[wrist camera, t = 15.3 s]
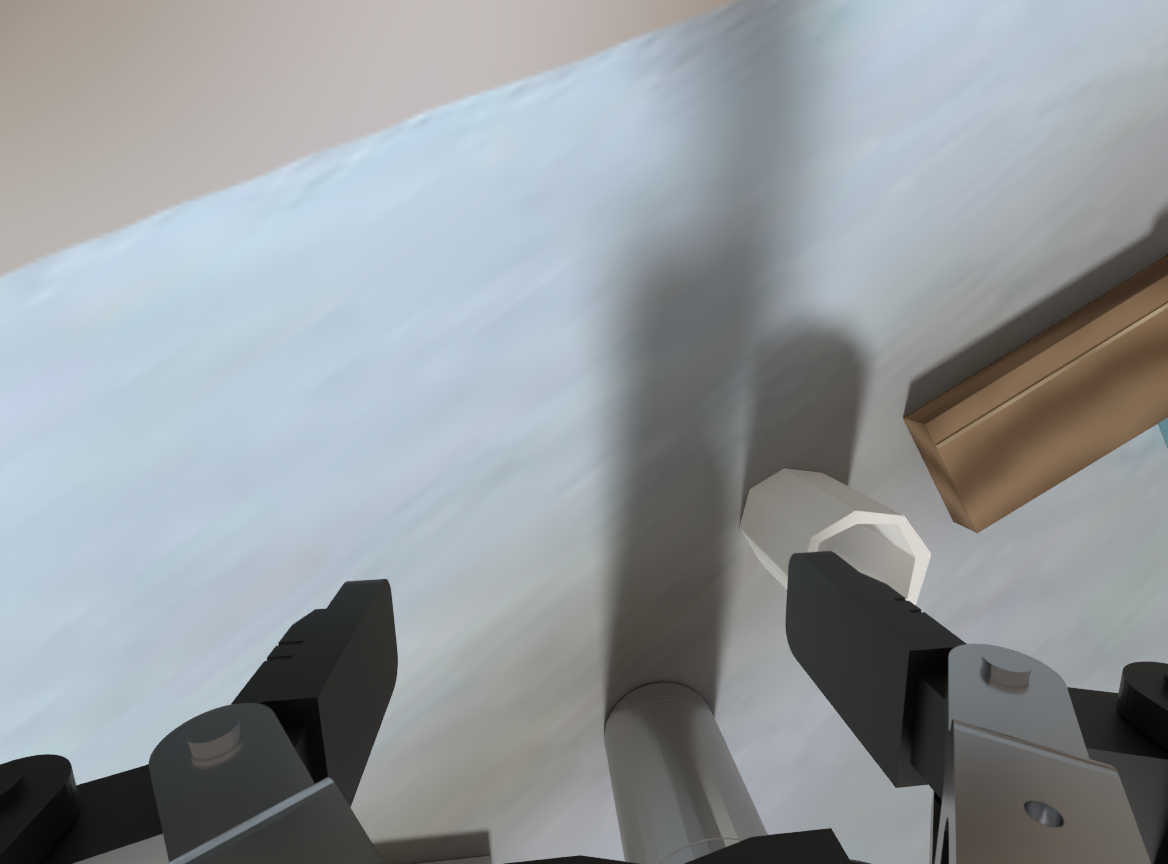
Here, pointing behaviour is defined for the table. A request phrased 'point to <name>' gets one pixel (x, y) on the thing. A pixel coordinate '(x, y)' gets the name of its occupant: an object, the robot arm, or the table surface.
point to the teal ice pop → (1164, 429)
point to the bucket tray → (465, 861)
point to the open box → (1050, 404)
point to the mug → (832, 529)
